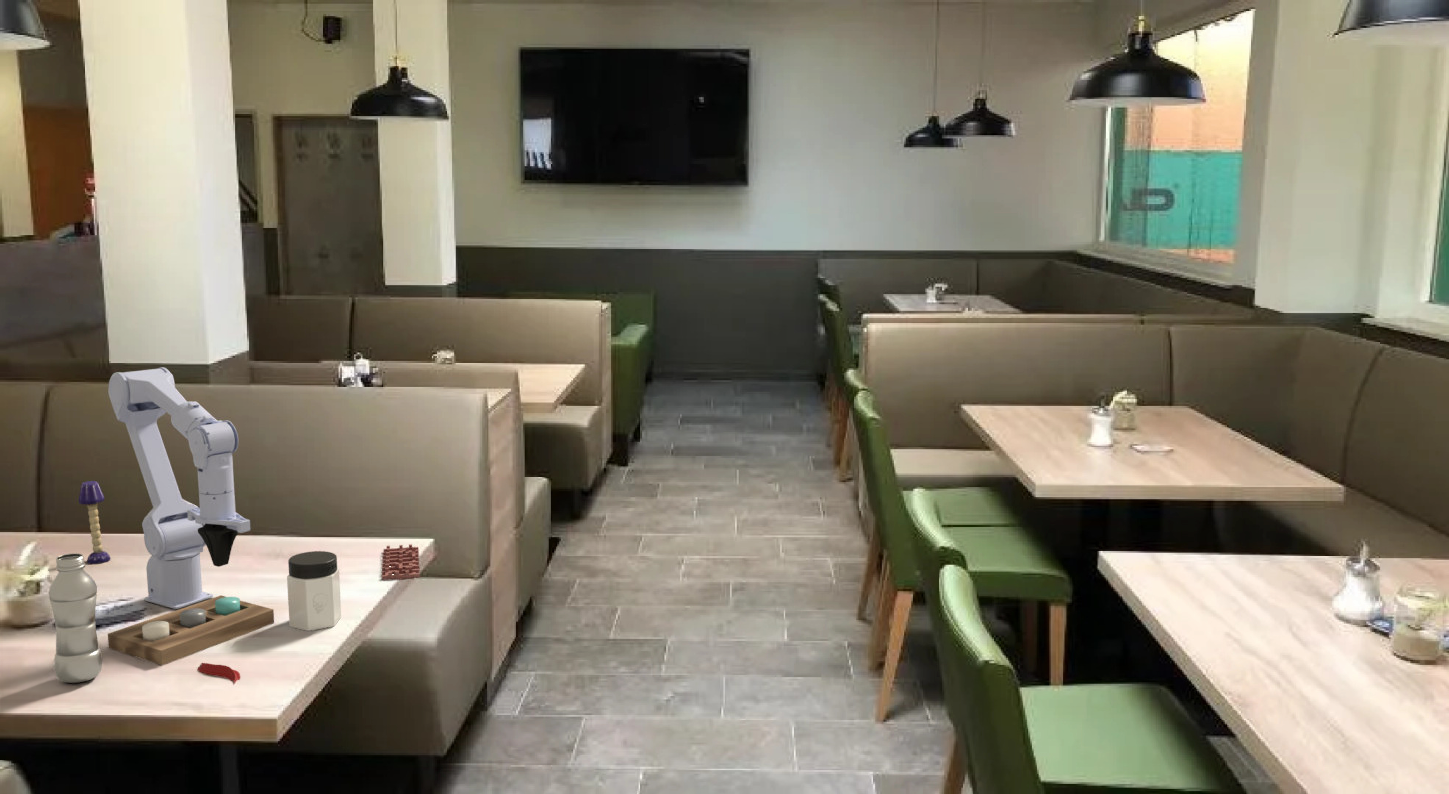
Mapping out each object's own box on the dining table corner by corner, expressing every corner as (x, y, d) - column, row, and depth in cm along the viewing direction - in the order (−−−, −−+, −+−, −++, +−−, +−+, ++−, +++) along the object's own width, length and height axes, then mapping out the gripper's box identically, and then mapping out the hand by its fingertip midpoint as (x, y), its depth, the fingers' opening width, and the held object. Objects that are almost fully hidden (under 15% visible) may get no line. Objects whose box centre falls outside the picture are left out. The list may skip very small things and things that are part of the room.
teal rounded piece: (211, 617, 204) (210, 602, 204) (230, 610, 208) (229, 595, 207) (226, 621, 203) (225, 606, 202) (245, 614, 206) (244, 599, 206)
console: (108, 648, 193) (107, 633, 193) (221, 608, 212) (220, 595, 212) (162, 665, 187) (161, 650, 186) (274, 622, 206) (273, 609, 205)
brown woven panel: (381, 583, 228) (381, 574, 228) (383, 554, 247) (383, 546, 246) (419, 581, 230) (419, 571, 230) (418, 552, 248) (418, 543, 248)
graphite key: (175, 629, 198) (174, 614, 198) (196, 622, 202) (195, 607, 201) (190, 634, 197) (189, 618, 196) (211, 626, 200) (210, 611, 199)
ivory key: (138, 642, 192) (136, 626, 192) (159, 635, 196) (158, 619, 195) (153, 647, 190) (152, 631, 190) (175, 639, 194) (173, 624, 193)
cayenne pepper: (247, 684, 181) (246, 673, 181) (216, 692, 178) (216, 680, 178) (223, 660, 190) (222, 649, 190) (193, 667, 187) (192, 656, 187)
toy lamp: (93, 565, 235) (87, 486, 232) (78, 562, 237) (71, 483, 234) (115, 559, 239) (108, 481, 236) (100, 556, 241) (93, 478, 238)
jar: (295, 634, 200) (292, 568, 198) (284, 620, 207) (280, 555, 205) (347, 624, 205) (344, 560, 203) (335, 610, 212) (332, 548, 210)
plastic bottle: (67, 671, 184) (56, 550, 180) (111, 670, 184) (101, 550, 181) (47, 688, 177) (35, 563, 174) (93, 687, 178) (82, 563, 174)
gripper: (170, 489, 203) (175, 563, 206) (223, 501, 196) (227, 578, 198) (205, 481, 209) (210, 553, 212) (258, 492, 202) (262, 567, 204)
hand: (221, 564), depth 205 cm, fingers closed
